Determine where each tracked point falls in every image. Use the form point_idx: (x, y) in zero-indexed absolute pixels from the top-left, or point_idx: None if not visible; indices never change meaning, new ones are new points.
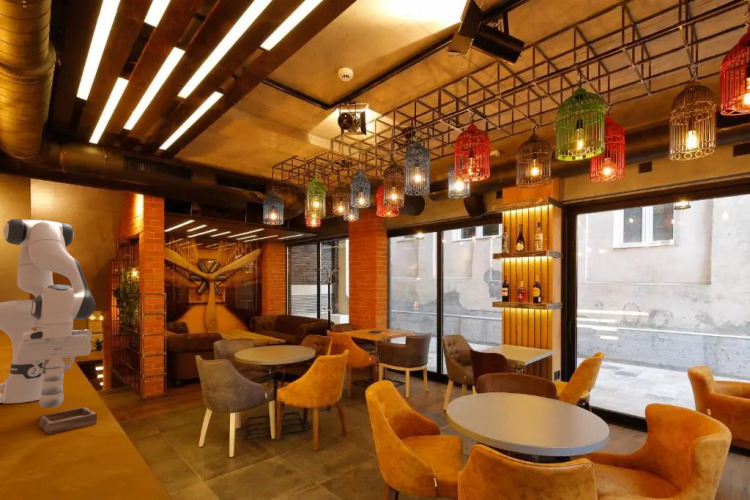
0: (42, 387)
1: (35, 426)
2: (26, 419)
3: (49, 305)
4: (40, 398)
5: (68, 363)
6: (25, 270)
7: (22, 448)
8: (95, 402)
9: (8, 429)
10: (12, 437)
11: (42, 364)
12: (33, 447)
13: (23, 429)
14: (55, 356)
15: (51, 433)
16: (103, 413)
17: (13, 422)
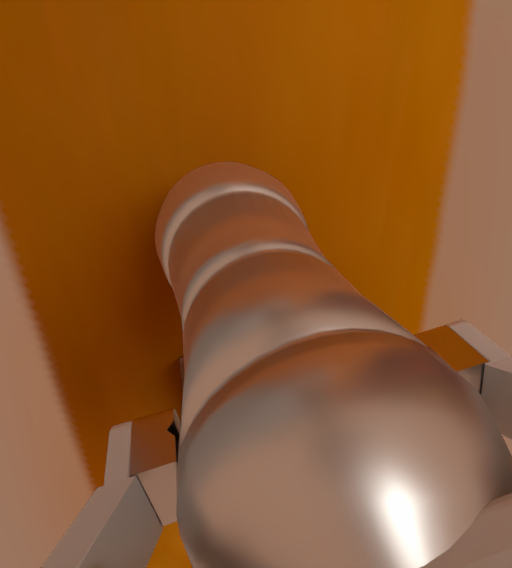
0: (177, 304)
1: (163, 358)
2: (94, 193)
3: None
4: (165, 275)
5: (505, 404)
6: None
7: (158, 557)
8: (460, 20)
9: (48, 342)
10: (100, 456)
11: (179, 524)
12: (186, 559)
13: (120, 376)
14: None
15: None
16: (418, 313)
17: (33, 217)
